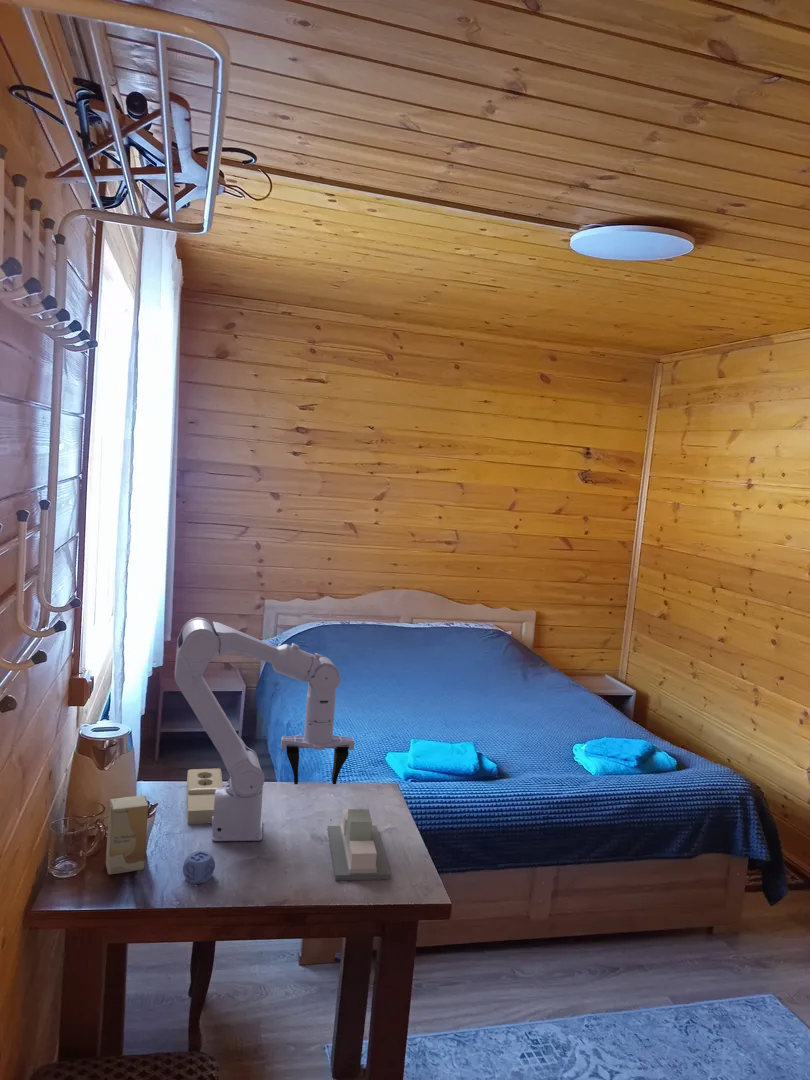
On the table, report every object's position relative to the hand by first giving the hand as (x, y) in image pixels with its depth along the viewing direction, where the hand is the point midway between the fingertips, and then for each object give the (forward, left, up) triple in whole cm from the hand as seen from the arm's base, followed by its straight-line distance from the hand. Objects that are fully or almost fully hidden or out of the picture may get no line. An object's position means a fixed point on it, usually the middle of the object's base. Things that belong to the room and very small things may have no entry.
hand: (314, 782), depth 159 cm
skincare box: (-34, -14, -10) cm, 38 cm away
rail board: (+8, -11, -9) cm, 17 cm away
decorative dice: (-21, -18, -10) cm, 29 cm away
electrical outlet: (-22, +11, -10) cm, 26 cm away
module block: (+8, -11, -8) cm, 16 cm away
